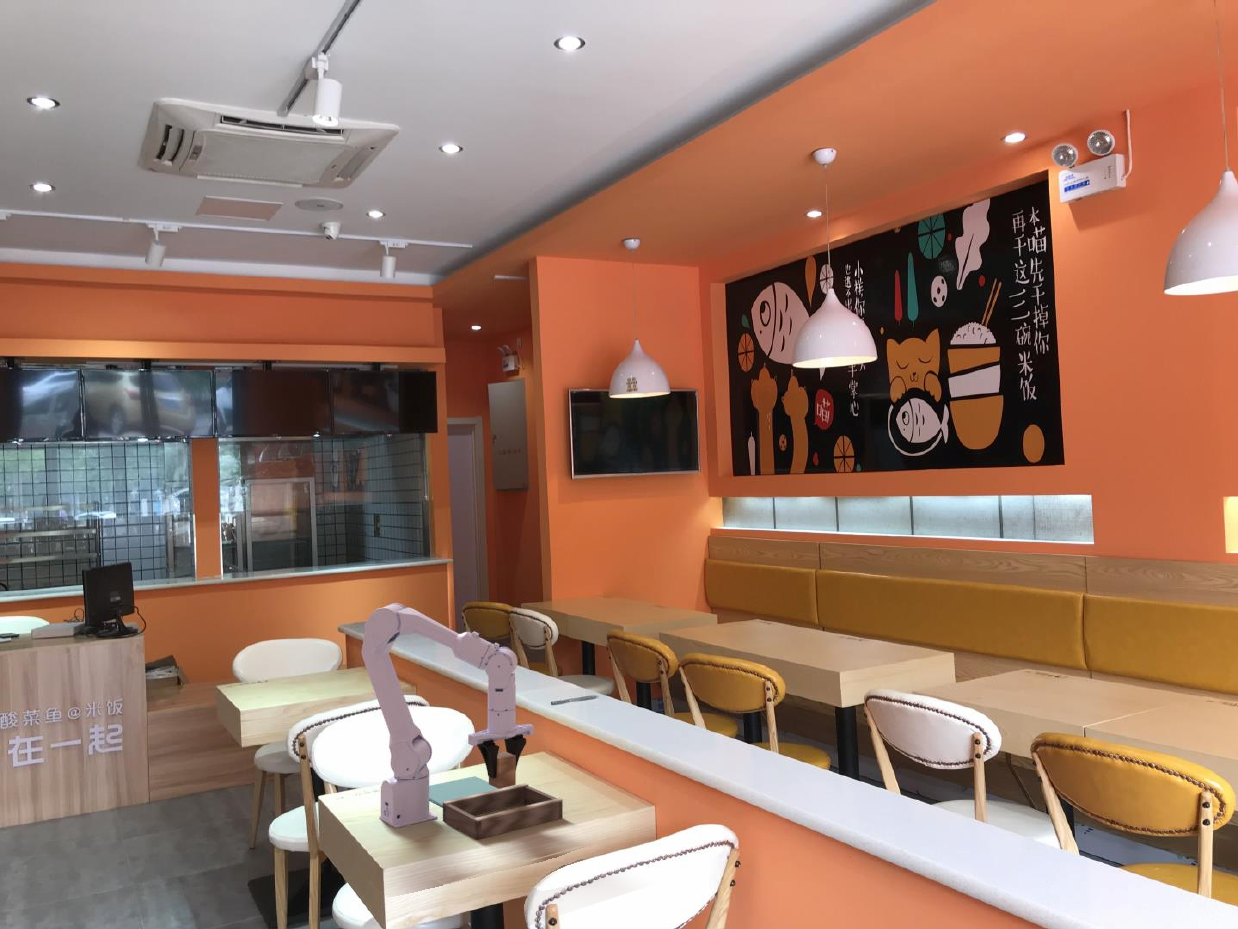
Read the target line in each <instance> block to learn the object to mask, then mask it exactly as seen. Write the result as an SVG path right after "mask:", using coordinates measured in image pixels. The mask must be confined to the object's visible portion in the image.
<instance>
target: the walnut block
mask: <svg viewBox="0 0 1238 929" xmlns="http://www.w3.org/2000/svg"><path fill="white" fill-rule="evenodd" d="M516 773H517V768H516V756H515V755H513V754H510V753H508V752H506V751H503V752H501V751H500V752H498V756H497V774H496V778H491V777H489V776H488V782H489V785H491V786H494V787H496V788H498V789H501V788H507V787H511V786H516V785H517V783H516V782H517V781H516V778H517V777H516V776H517V774H516Z"/></svg>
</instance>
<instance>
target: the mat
mask: <svg viewBox="0 0 1238 929" xmlns="http://www.w3.org/2000/svg"><path fill="white" fill-rule="evenodd" d="M501 789H503V788H501ZM494 790H498V788H496V787H494V786H491V785H489V781H486V780H485V779H482V778H480V777H478V776H476V775H474V776H470V777H469V776H468V777H465V778H464V777H463V778H461V779H455V780H451V781H445V782H440V783H436V784H432V785H430V784H429V802H432V803H433V804H435V803H436V805H437V804H438V805H437V806H439V807H441V808H443V802H444V801H449V800H453V799H458V798H462V797H467V796H471V795H476V794H480V793H485V792H489V791H494Z"/></svg>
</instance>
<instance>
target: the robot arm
mask: <svg viewBox="0 0 1238 929" xmlns="http://www.w3.org/2000/svg"><path fill="white" fill-rule="evenodd" d="M363 627H364V635H363V639H362V640H363V641H362V646H361V657H362V660H363V663H364V666H365V668H366V671H367V674H368V677H369V680H370V682H371V685H372V688H373V690H374V693H375V694H374V695H375V696H376V699H377V701H378V705H379V707H380V710H381V713H382V716H383V718H384V722H385V724H386V726H387V730H388V733H389V741H388V742H389V743H388V748H389V751H390V768H391V770H392V772H393V776H391V777H390V778H387V779H385V780H383V781H382V783H381V785H380V815H379V817H378V818H379V819H380V820H382V821H383V822H384V823H386V824H387V825H390V826H391V827H393V828H395V829H396V828H397V829H398V828H403V827H406V826H410V825H414V824H419V823H423V822H427V821H431V820H436V819H438V815H437V814H435V813H432V812H431V811H430V800H429V786H430V769H429V768H428V765H427V764H428V763H429V762H430V760H431V759H432V754H433V748H432V745H431V744H430V742H429V741H428V740H427V739H426V738H425V737H424V736H423V733H422V731H421V729H420V728H419V727H418V726H417V725H416V724H415V722H414V719H413V718H412V715H411V711H410V708H409V705H408V703H407V700H406V698H405V695H404V692H403V689H402V686H401V684H400V681H399V677H398V676H397V672H396V669H395V667H394V665H393V662H392V661H393V660H392V658H391V656H390V651H391V650H392V648H393V645H394V644H395V642H396V640H397V638H398V637H399V636H404V635H412V634H413V635H414V634H417V635H420V636H423V637H425V638H427V639H429V640H432V641H434V642H436V643H439V644H441V645H442V646H445V647H448V648H449V649H451V650H452V652H453V655H454V658H457V659H459V660H461V661H463V662H465V663H467V664H469V665H471V666H473V667H475V668H476V669H479V670H481V671H483V670H484V672H485V674H486V676H487V680H488V682H487V683H488V686H487V728H486V729H484V730H480V731H478V732H474V733H469V734H468V735H467V736H468V738H467V739H468V742H467V743H468V745H470V746H472V747H474V746H477V748H478V750H479V751H480V753H481V756H482V758H483V761H484V764H485V768H486V772H487V776H488V778H489V777H491V778H496V774H497V756H498V753H499V750H500V745H498V744H496V743H495V742H496V741H502V740H504V746H505V750H506V751H505V752H508V753H510V754H513V755H515V756H516V769H517V767H518V763H519V759H520V757H521V754H522V753H523V749H525V746H526V745H527V738H526V737H524V736H533V735H534V734H535V731H534V730H535V726H534V725H533V724H530V723H526V724H517V723H516V720H517V719H516V718H517V716H516V712H517V711H516V709H517V707H516V701H517V700H516V698H517V697H516V696H517V695H516V691H517V690H516V689H517V688H516V687H517V686H516V673H515V670H516V669H517V666H518V657H517V655H516V653H515V651H513V650H512V649H511V648H509V646H508V647H507V646H501V647H500V644H499V643H498V642H495V643H492V642H490V641H487V640H486V639H484V638H482V637H480V632H476V631H473V632H470V631H465V632H462V633H458V632H457V631H454V630H453V629H450V628H449V627H448V626H445V625H444V624H442V623H441V622H440V623H439V622H438V621H436V620H434V619H432V618H431V617H429V616H427V615H426V614H424V613H421V612H420V611H419V610H416V609H414V608H412V607H409V606H408V607H406V605H403V604H402V603H398V602H393V603H390V604H388V605H386V606H384V607H379V608H376V609H375V610H373V612H371V614H370V615H369V617H368V618H367V620H366V622H365V623H364V626H363Z"/></svg>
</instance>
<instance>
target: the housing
mask: <svg viewBox="0 0 1238 929" xmlns="http://www.w3.org/2000/svg"><path fill="white" fill-rule="evenodd" d="M563 802H564V799H563V798H561V797H555V796H553V795H550V794H548V793H546V792H544V791H541V790H538V789H535V788H534V787H533V786H529V784H527V783H521V784H516V785H514V786H510V787H505V788H503V789H498V790H494V791H489V792H485V793H480V794H476V795H471V796H467V797H462V798H458V799H453V800H449V801H444V802H443V807H442V822H444V823H446V824H447V825H450V826H452V827H453V828H455V829H457V830H459V831H461V832H463V833H464V834H466V835H468V836H470V837H472V838H473V839H475V840H482V839H486V838H490V837H493V836H497V835H501V834H505V833H509V832H513V831H516V830H520V829H524V828H529V827H532V826H536V825H539V824H544V823H547V822H552V821H555V820H559V819H562V818H563V817H564V816H563V810H564V809H563V807H564V806H563V805H564V804H563ZM523 804H525V806H520V807H515V806H519V805H523ZM509 807H510V808H511V807H515V808H512V809H507V810H504V811H499V812H495V813H491V814H488V815H482V816H477V817H476V815H480V814H485V813H489V812H493V811H498V810H502V809H505V808H509Z"/></svg>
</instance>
